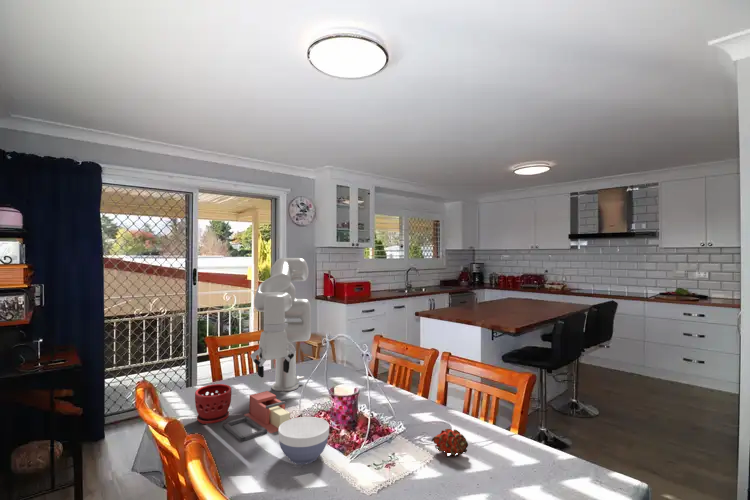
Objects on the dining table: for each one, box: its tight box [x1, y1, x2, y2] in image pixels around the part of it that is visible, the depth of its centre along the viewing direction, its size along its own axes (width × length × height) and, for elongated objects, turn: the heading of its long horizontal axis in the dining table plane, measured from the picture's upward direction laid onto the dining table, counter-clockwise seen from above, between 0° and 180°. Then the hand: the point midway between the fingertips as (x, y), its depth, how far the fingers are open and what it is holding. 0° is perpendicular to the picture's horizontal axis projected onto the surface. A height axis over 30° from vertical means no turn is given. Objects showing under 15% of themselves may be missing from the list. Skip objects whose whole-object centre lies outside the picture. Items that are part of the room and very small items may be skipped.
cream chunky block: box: [269, 406, 291, 429], centre depth 148 cm, size 10×4×5 cm, turn 43°
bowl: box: [277, 416, 330, 465], centre depth 126 cm, size 16×16×10 cm
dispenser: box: [243, 390, 292, 434], centre depth 152 cm, size 22×12×8 cm, turn 43°
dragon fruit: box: [431, 428, 469, 456], centre depth 128 cm, size 8×8×12 cm
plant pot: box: [194, 383, 232, 425], centre depth 153 cm, size 13×13×12 cm
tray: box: [222, 416, 268, 442], centre depth 143 cm, size 9×16×2 cm, turn 43°
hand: (273, 374), depth 147 cm, fingers open, 9 cm apart
